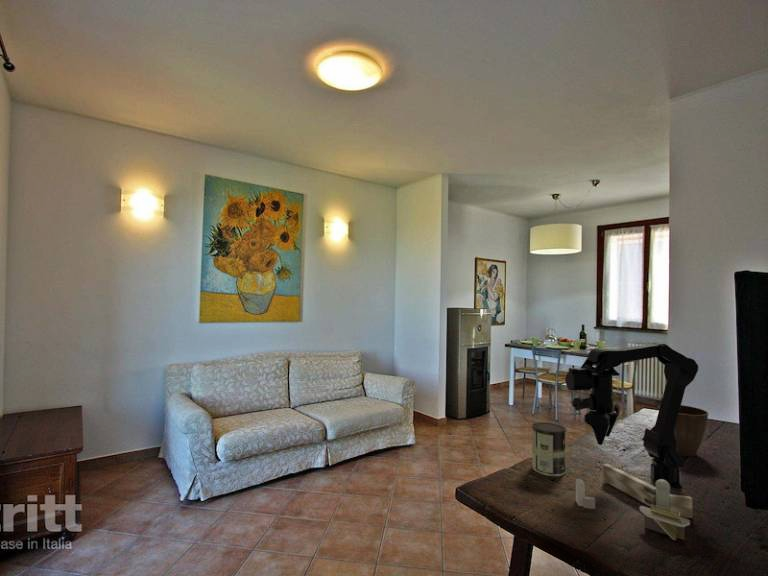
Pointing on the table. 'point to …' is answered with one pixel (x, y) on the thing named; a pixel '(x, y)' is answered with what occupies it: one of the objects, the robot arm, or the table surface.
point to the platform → (664, 521)
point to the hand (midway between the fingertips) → (603, 440)
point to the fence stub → (681, 505)
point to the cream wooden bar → (630, 485)
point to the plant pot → (689, 429)
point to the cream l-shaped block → (583, 496)
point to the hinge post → (663, 494)
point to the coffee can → (549, 449)
